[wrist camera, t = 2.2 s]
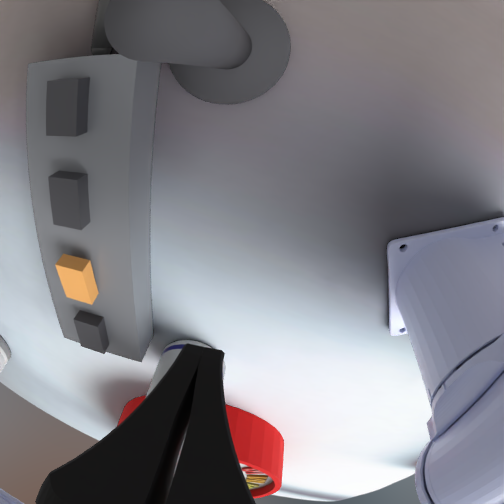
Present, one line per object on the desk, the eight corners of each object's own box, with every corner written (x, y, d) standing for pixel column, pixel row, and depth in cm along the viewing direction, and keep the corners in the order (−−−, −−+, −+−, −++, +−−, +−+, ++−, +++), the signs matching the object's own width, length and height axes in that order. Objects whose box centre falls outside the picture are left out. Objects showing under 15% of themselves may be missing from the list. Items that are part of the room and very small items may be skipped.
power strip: (78, -40, 10) (38, -53, 7) (184, -56, 10) (158, -84, 7) (80, 313, 24) (58, 345, 21) (153, 334, 24) (137, 372, 21)
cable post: (271, -16, 11) (251, -121, 3) (303, 87, 14) (332, 98, 6) (159, 19, 13) (31, -16, 4) (191, 117, 16) (86, 173, 7)
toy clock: (300, 498, 31) (168, 494, 36) (301, 460, 36) (176, 463, 41) (240, 440, 22) (75, 431, 27) (248, 384, 27) (93, 393, 32)
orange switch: (63, 253, 17) (55, 264, 16) (90, 260, 17) (82, 271, 16) (73, 286, 18) (66, 297, 18) (98, 293, 18) (92, 304, 18)
